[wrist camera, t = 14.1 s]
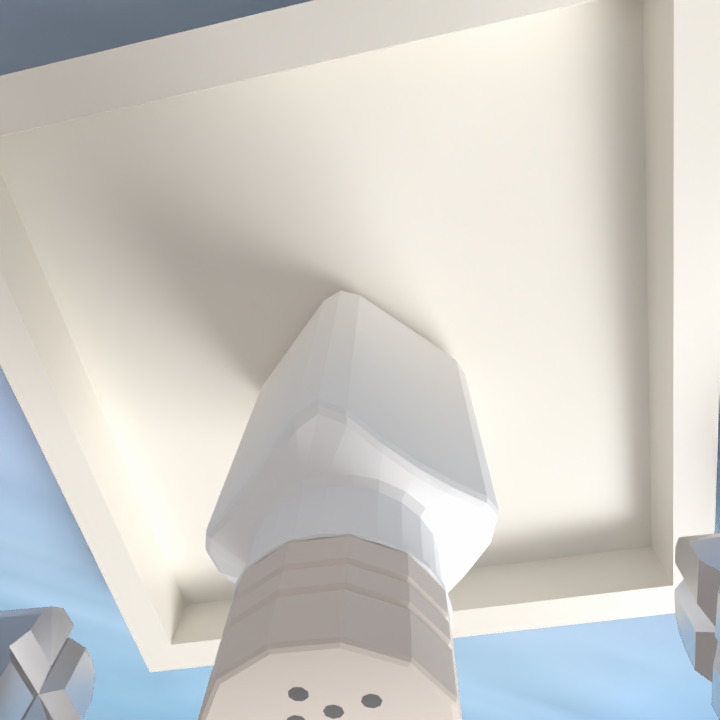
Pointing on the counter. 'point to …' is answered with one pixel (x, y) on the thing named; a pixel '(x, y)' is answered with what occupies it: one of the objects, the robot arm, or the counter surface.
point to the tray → (378, 277)
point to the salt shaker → (349, 528)
